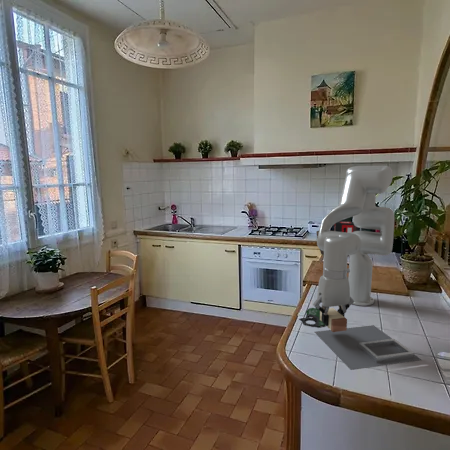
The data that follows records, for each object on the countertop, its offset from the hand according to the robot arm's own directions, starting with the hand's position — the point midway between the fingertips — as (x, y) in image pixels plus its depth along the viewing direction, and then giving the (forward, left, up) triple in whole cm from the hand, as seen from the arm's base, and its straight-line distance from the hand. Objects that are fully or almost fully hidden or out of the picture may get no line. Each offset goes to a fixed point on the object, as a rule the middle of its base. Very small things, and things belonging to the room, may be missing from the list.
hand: (332, 322), depth 111 cm
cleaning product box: (-117, +77, -6) cm, 141 cm away
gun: (-16, 0, -6) cm, 17 cm away
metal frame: (+13, +11, -6) cm, 18 cm away
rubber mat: (+7, +7, -6) cm, 12 cm away
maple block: (0, 0, -1) cm, 1 cm away
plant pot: (-106, +55, -6) cm, 120 cm away
